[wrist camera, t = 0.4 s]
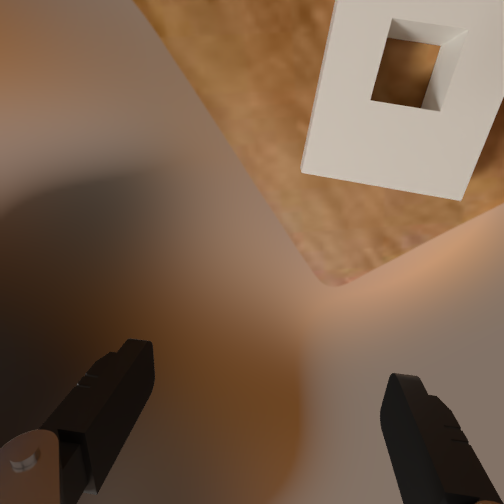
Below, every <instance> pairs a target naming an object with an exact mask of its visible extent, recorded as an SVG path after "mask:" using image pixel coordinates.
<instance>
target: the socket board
mask: <svg viewBox="0 0 504 504" xmlns="http://www.w3.org/2000/svg"><path fill="white" fill-rule="evenodd" d="M387 38H393V39H400V40H406V41H413V42H420V43H426V44H433V45H439V46H441V47H440V50H439V54H438V57H437V60H436V63H435V66H434V69H433V72H432V75H431V78H430V81H429V84H428V87H427V91H426V94H425V97H424V100H423V103H422V106H421V108H415V107H409V106H402V105H396V104H390V103H384V102H378V101H372V100H370V99H371V95H372V92H373V88H374V84H375V81H376V77H377V73H378V69H379V66H380V62H381V58H382V55H383V51H384V47H385V43H386V40H387ZM503 97H504V0H335V4H334V9H333V14H332V19H331V23H330V28H329V33H328V38H327V43H326V47H325V52H324V57H323V62H322V66H321V71H320V76H319V81H318V86H317V90H316V95H315V100H314V105H313V109H312V114H311V119H310V124H309V129H308V133H307V138H306V143H305V148H304V152H303V157H302V162H301V167H300V168H301V172H302V173H306V174H312V175H318V176H323V177H329V178H334V179H340V180H346V181H351V182H357V183H363V184H368V185H374V186H380V187H385V188H391V189H397V190H402V191H408V192H413V193H419V194H425V195H430V196H436V197H442V198H447V199H453V200H459V201H461V200H462V198H463V195H464V193H465V190H466V188H467V185H468V183H469V180H470V178H471V176H472V173H473V171H474V168H475V166H476V163H477V161H478V158H479V156H480V153H481V151H482V149H483V146H484V144H485V141H486V139H487V136H488V134H489V131H490V129H491V127H492V124H493V122H494V119H495V117H496V114H497V112H498V109H499V107H500V105H501V102H502V100H503Z"/></svg>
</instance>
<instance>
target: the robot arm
mask: <svg viewBox="0 0 504 504" xmlns="http://www.w3.org/2000/svg"><path fill="white" fill-rule="evenodd" d="M154 381H155V371H154V357H153V345H152V342H151V341H145V340H137V339H128V340H127V341H126V342H125V343H124V344H123V346H122V347H121V348H120V349H119V351H118V352H117V353H115V352H110V353H108V354H106V355H105V356H104V357H102V358H100V359H99V360H97V361H96V362H95V363H94V364H93V365H92V367H91V368H90V369H89V370H88V371H87V373H86V375H85V376H83V377H82V378H81V380H80V381H79V382H78V383H77V386H76V387H74V388H73V389H72V390H71V391H70V393H69V394H68V395H67V396H66V397H65V399H64V400H63V401H62V402H61V403H60V405H59V406H58V407H57V408H56V409H55V410H54V412H53V413H52V414H51V415H50V416H49V417H48V419H47V420H46V421H45V422H44V423H43V425H42V426H41V427H40V428H39V429H38V430H33V431H30V432H26V433H24V434H21V435H19V436H17V437H15V438H14V439H12V440H11V441H10V442H8V443H7V444H5V445H4V446H3V447H2V448H1V449H0V504H77V502H78V500H79V498H80V496H81V495H82V493H83V492H84V493H90V494H95V495H97V494H98V492H99V490H100V488H101V486H102V484H103V483H104V481H105V479H106V477H107V475H108V473H109V471H110V469H111V468H112V466H113V464H114V462H115V460H116V458H117V456H118V455H119V453H120V451H121V449H122V447H123V445H124V443H125V441H126V440H127V438H128V436H129V434H130V432H131V430H132V429H133V427H134V425H135V423H136V421H137V419H138V417H139V415H140V414H141V412H142V410H143V408H144V406H145V404H146V402H147V400H148V399H149V397H150V395H151V393H152V390H153V386H154ZM380 421H381V429H382V432H383V436H384V439H385V442H386V446H387V449H388V453H389V456H390V459H391V463H392V466H393V470H394V473H395V476H396V480H397V483H398V487H399V490H400V493H401V497H402V500H403V503H404V504H503V502H502V500H501V499H500V497H499V495H498V493H497V491H496V490H495V488H494V486H493V484H492V483H491V481H490V479H489V477H488V475H487V474H486V472H485V470H484V468H483V467H482V465H481V463H480V461H479V459H478V458H477V456H476V454H475V452H474V450H473V449H472V447H471V445H469V444H468V440H467V438H466V436H465V435H464V433H463V431H461V427H460V425H459V424H458V422H457V420H456V418H455V417H454V415H453V413H452V411H451V410H450V409H449V408H448V407H447V406H446V405H445V404H444V403H443V402H442V401H441V400H440V399H439V398H438V397H437V396H432V395H428V393H427V391H426V389H425V388H424V385H423V383H422V382H421V380H420V378H419V377H417V376H412V375H404V374H396V373H392V374H391V375H390V377H389V381H388V384H387V388H386V391H385V395H384V399H383V402H382V406H381V411H380Z"/></svg>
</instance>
